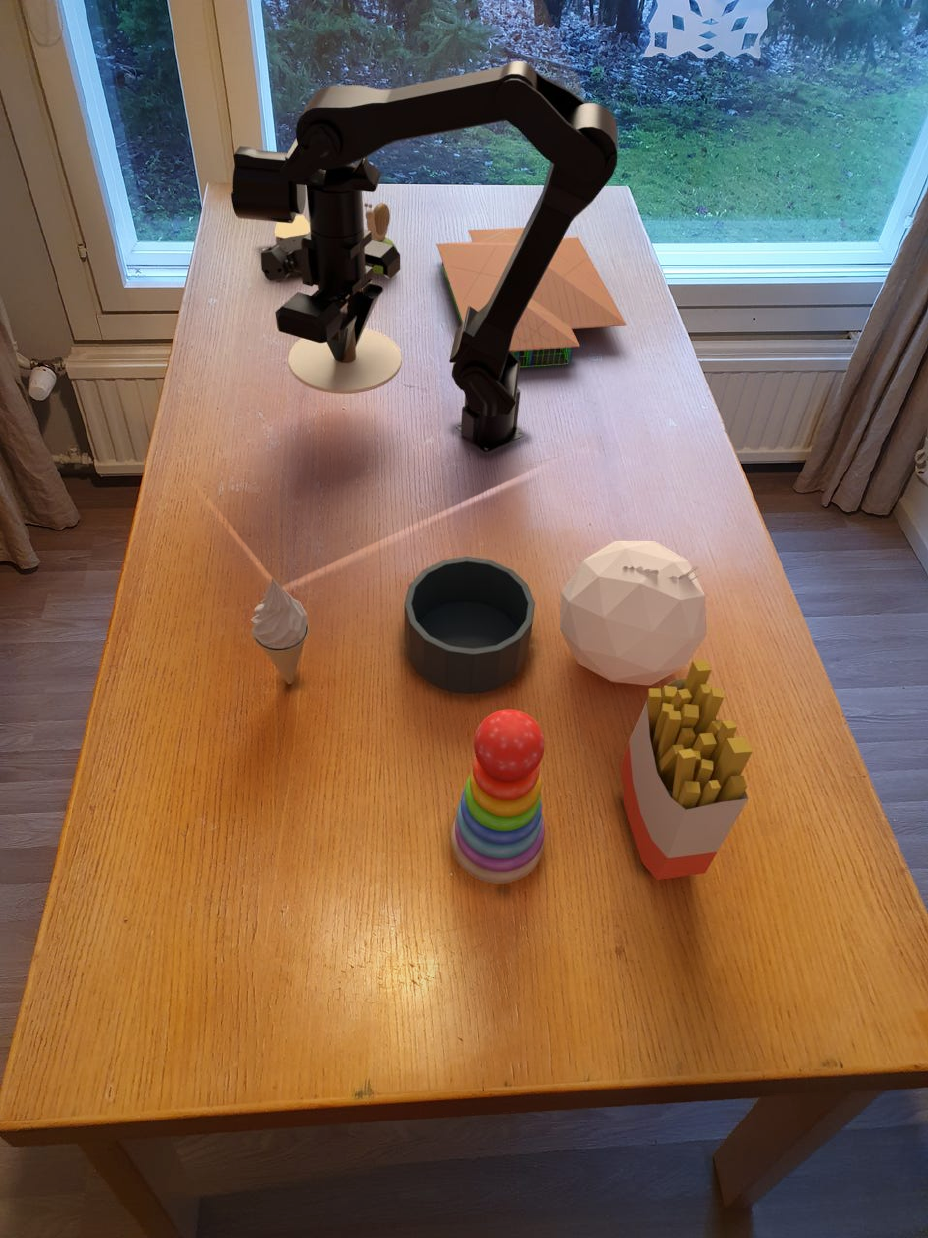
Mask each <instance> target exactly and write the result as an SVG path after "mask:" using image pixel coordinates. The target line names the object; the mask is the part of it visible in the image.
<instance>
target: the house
mask: <svg viewBox="0 0 928 1238" xmlns="http://www.w3.org/2000/svg"><path fill="white" fill-rule="evenodd" d="M524 228H525V227H508V228H507V227H505V228H504V227H503V228H487V229H485V228H484V229H483V228H482V229H468V234H469V237H470V239H471V241H463V242H461V241H460V242H441V243H436V244H435V245H436V248H437V250H438V254H439V257H440V259H441V260H440V261H441V267H442V271H443V273H444V277H445V280H446V282H447V285H448V288H449V292H450V294H451V298H452V300H453V304H454V307H455V309H456V312H457V315H458V318H459V321H460V324H461V325H462V324H463V322H464V320H465V317H466V313H467V309H468V306H470V307H472V308H473V309H475V310H476V311H478V312H479V311H480V310H481V309H482V308H483V307H484V306H485V305H486V304H487V303H488V302H489V300H490V298H491V296H492V294H493V292H494V290H495V288H496V286H497V284H498V282H499V280H500V277H501V275H502V273H503V271H504V269H505V267H506V265H507V263H508V261H509V259H510V257H511V255H512V253H513V251H514V249H515V247H516V245H517V243H518V241H519V239H520V237H521V235H522V233H523V230H524ZM624 326H628V325H627V322H626V321H625V319H624V317H623V316H622V313H621V311H620V310H619V308H618V307H617V305H616V303H615V300H614V299H613V297H612V296H611V294H610V291H609V290H608V288H607V287H606V285H605V283H604V281H603V279H602V277H601V276H600V274H599V272H598V271H597V268H596V267H595V264H594V263H593V261H592V260H591V257H590V256H589V254H588V252H587V250H586V249H585V247H584V245H583V243H582V241H581V239H580V238H579V236H570V237H569V236H568V237H567V236H564V237H563V239H562V241H561V243H560V245H559V247H558V249H557V250H556V252H555V254H554V256H553V258H552V260H551V262H550V264H549V266H548V267H547V269H546V271H545V273H544V275H543V277H542V279H541V281H540V283H539V284H538V286H537V288H536V290H535V292H534V294H533V296H532V298H531V300H530V301H529V303H528V305H527V307H526V309H525V311H524V313H523V315H522V317H521V318H520V320H519V322H518V324H517V326H516V328H515V330H514V333H513V337H512V341H511V344H510V348H509V350H510V351H511V352H512V353H513V354H514V355H515V356H516V357H517V359H518V360H519V361H520V359H519V358H525V359H526V361H525V360H523V361H522V362H523V363H522V366H521V365H520V368H530V367H533V365H532V359H533V356H534V357H535V356H536V359H538V357H539V356H541V354H539V352H537V353H536V354H533V351H540V350H541V351H542V350H543V351H542V356H547V355H548V356H547V360H549V358H550V356H553V357H555V356H556V355H559V357H558V361H560V360H561V355H563V356H564V361H563V365H570V361H571V355H572V349H573V348H580V347H581V345H580V343H579V341H578V339H577V337H576V335H575V333H574V331H573V330H577V329H578V330H579V329H593V328H605V327H607V328H608V327H624ZM557 349H560V350H559V352H557V353H556V351H554V353H550V350H557ZM545 350H548V353H544V352H545ZM520 352H523V355H520ZM543 362H544V357H542V359H541V363H543ZM566 362H567V363H566ZM525 363H526V364H525ZM524 364H525V365H524ZM559 365H562V363H560V362H558V363H555V358H553V361H552V363H550V364H549V361H547V363H546V364H538V360H536V362H535V365H534V367H545V366H559Z"/></svg>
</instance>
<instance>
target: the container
mask: <svg viewBox="0 0 928 1238" xmlns="http://www.w3.org/2000/svg"><path fill="white" fill-rule="evenodd" d="M535 609H536V601H535V599H534V596H533V594H532V591H531V589H530V587H529V584H528V583H527V582H526V581H525V580H524V579H523V578H522V577H521V576H520V575H519V574H517V572H516V571H514V570H513V569H511V568H510V567H507V566H506V565H503V564H502V563H499V562H497V561H495V560H491V559H487V558H479V557H472V556H461V557H455V558H448V559H442V560H440V561H438V562H436V563H434V564H432V565H430V566H427V567H426V568H424V569H423V570H421V572H420V573H419V574H418V575H417V576H416V577H415V578H414V579H413V580H412V581H411V582H410V584H409V585H408V589H407V593H406V596H405V600H404V645H405V649H406V650H405V651H406V655H407V658H408V661H409V663H410V665H411V666H412V668H413V669H414V671H415V672H416V674H418V676H420V677H421V678H422V679H423V680H425V681H426V682H427V683H428V684H430V685H432V686H434V687H435V688H438V689H440V690H443V691H446V692H448V693H453V694H457V695H458V694H459V695H479V694H485V693H489V692H493V691H495V690H498V689H500V688H502V687H504V686H506V685H507V684H509V683H510V682H512V680H514V679H515V678H516V677H517V676H518V674H519V673H520V672H521V671H522V670H523V667H525V664H526V662H527V660H528V654H529V649H530V643H531V642H530V641H531V636H532V629H533V624H534V616H535Z"/></svg>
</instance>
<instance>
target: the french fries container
mask: <svg viewBox="0 0 928 1238" xmlns="http://www.w3.org/2000/svg"><path fill="white" fill-rule="evenodd" d="M712 671H713V670H712V668H711V665H710V664H709V662H708V660H707V659H697V660H696V659H695V660H691V664H690V667H689V669H688V672H687V675H686V677H685V678H676V679H673V680H672V681H670V682H669V683H668V684H666V685H663V687H662V688H653V687H652V688H650V687H649V688H648V692H647V693H648V694H647V699H646V701H645V703H644V706H643V708H642V710H641V713H640V715H639V718H638V719H637V722H636V724H635V726H634V728H633V731H632V733H631V735H630V737H629V739H628V740H629V741H628V743H627V746H626V748H625V752H624V755H623V758H622V761H621V763H620V771H621V781H622V795H623V796H622V797H623V806H624V809H625V813H626V816H627V820H628V822H629V826H630V829H631V833H632V835H633V838H634V841H635V842H634V843H635V845H636V849H637V852H638V856H639V858H640V862H641V863H642V864H643V866H644V867H645V868H646V869H647V870H648V872H649V873H650V874H651V875H652V876H653V877H654V878H655V879H656V881H661V880H667V879H674V878H681V877H689V876H697V875H704V874H706V873H707V871H708V869H709V867H710V866H711V864H712V862H713V860H714V859H715V857H716V856H717V854H718V852H719V850H720V848H721V847H722V845H723V843H724V842H725V840H726V839H727V837H728V835H729V833H730V832H731V830H732V828H733V827H734V824H735V823H736V821H737V819H738V818H739V817H740V814H741V812H742V811H743V809H744V807H745V806H746V804H747V802H748V801H749V799H750V798H749V796H748V793H747V791H746V790H747V789H748V784H747V781H746V778H745V776H744V775H743V774H742V773H743V772H744V770H745V768H746V766H747V763H748V762H749V760H750V758H751V756H752V754H753V749H752V748H751V745H750V744H749V742H748V740H747V738H746V737H745V736H739V737H735V735H736V732H737V729H738V726H737V725H736V724H735V722H734V721H733V719H728V720H724V719H723V718H721V719H717V716H718V714H719V712H720V709H721V707H722V704H723V702H724V699H725V694H724V689H722V688H716V687H713V686H712V684H711V683H708V681H709V678H710V676H711V673H712Z"/></svg>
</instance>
